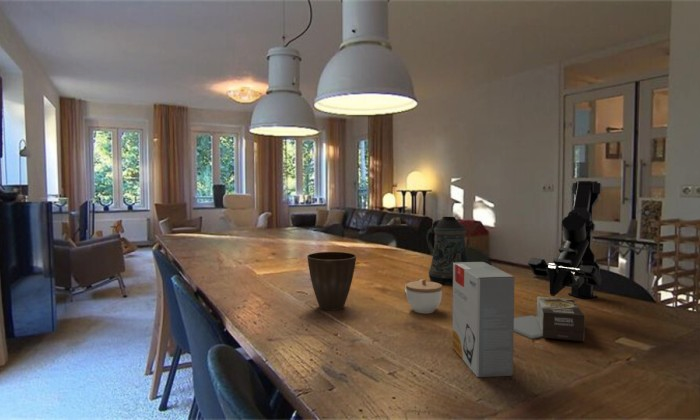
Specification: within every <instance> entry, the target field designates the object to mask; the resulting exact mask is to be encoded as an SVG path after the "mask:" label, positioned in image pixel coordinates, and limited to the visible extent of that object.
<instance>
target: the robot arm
mask: <svg viewBox="0 0 700 420" xmlns="http://www.w3.org/2000/svg"><path fill="white" fill-rule="evenodd" d="M571 190H572V195H573V196H574V202H573V209H572V210H570V211H569V212H568V213H567V216H565V217H563V219H562V220H561V231H563V237H564V240H565V241H564V244H562V245H563V246H562V247H561V246H559V247H558V252H559V253H558V255H557V257H556V258H555V257H553V260H552V262H553V263H551V262H550V263H547V262H546V259H544V258H538V257H531V258H530V259H529V261H528V263H527V266H528V267H529V269H530V270H531V272H532V275H534V276H536V277H542V278H546V277H548V279H549V281H548V282H549V296H550V297H555V296H556V295H557V294H558V293H560V292H561V291H562V290H563V289H564V288H566V287H568V288H569V287H570V288H571V290H570V291H571V292H568V293H567V295H569V296H573V297H576V298H578V299H579V298H580V299H583V300H584V299H592V298H598V295H596V294H594V287H600V286H601V283H602V276H601V270H600V267H601V266H600V265H599V264H598V261H596V256H595V254H594V253H593V250H592V249H591V248H592V235H593V234H592V233H593V232H594V230H596V224H595V223H594V221H593V215H594V207H595V206H596V205H597V203H598V202H599V201H600V200H599V199H600V196H601V195H602V183H600V182H598V180H578V181H575V182H572V188H571Z"/></svg>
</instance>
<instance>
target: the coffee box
mask: <svg viewBox="0 0 700 420" xmlns="http://www.w3.org/2000/svg"><path fill="white" fill-rule="evenodd" d="M536 301H537V302H536V317H537V319H538V322H539V325H540V328H541V332H542V335H543V337H542V338H546V339H552V340H554V339H555V340H563V341H575V342H584V341H585V322H586V321H585V319H586V317H585V315H584V313H583V312H582V311H581V309H580V308H579V305H577V303H576V301H575V300H574V299H573V298H562V297H560V298H559V297H552V296H550V297H547V296H537V297H536Z"/></svg>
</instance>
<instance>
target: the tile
mask: <svg viewBox="0 0 700 420" xmlns="http://www.w3.org/2000/svg"><path fill="white" fill-rule="evenodd" d="M514 333H516V334H517V335H521V336H523V337H525V338H528V339H530V340H535V339H540V338H544V337H543V335H542V332H541V328H540V325H539V322H538V319H537V315H532V314H530V315H524V316H517V317H514Z"/></svg>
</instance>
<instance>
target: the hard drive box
mask: <svg viewBox="0 0 700 420" xmlns="http://www.w3.org/2000/svg"><path fill="white" fill-rule="evenodd" d="M514 318H515V276H514V275H512V274H510V273H508V272H506V271H503V270H501V269H500V268H497V267H495V266H493V265H492V264H491V265H490V264H489V263H488V262H487V263H486V262H484V261H468V262H456V263H453V285H452V333H451V334H452V349H453V350H454V351H455V352H456V354H457V355H458V357H459V358H461V360H462V361H463V363H465V365H467V367H468V369H469V370H470V371H471V372H472V373H473V374H474V375H475V376H476V377H477V378H486V377H488V378H490V377H508V376H509V377H512V376H513V372H514V369H513V368H514V367H513V366H514V335H515V334H514V333H515V332H514Z"/></svg>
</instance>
